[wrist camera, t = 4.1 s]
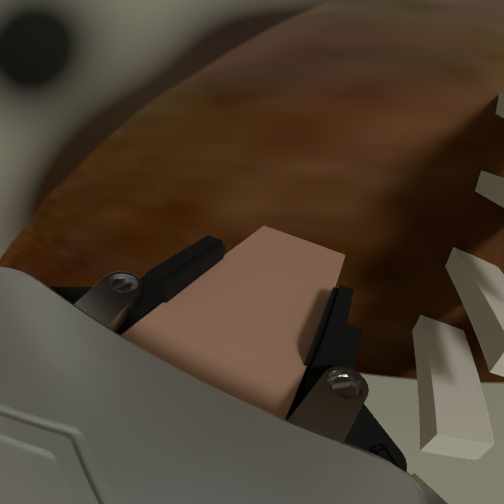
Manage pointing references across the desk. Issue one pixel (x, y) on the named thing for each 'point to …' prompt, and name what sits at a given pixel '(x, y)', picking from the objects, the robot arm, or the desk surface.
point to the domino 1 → (247, 319)
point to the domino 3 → (449, 393)
